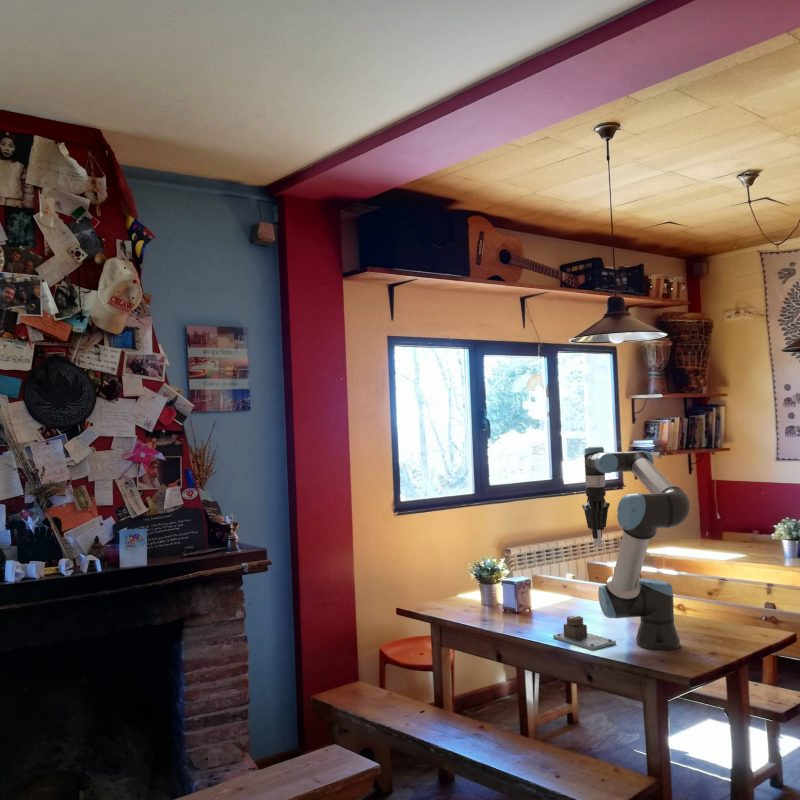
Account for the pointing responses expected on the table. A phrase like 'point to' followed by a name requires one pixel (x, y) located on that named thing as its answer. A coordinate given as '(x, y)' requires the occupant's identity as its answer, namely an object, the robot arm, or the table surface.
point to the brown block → (575, 627)
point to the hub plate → (586, 641)
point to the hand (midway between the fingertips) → (597, 546)
